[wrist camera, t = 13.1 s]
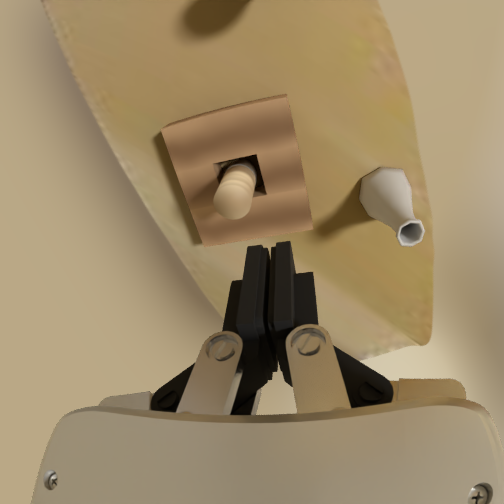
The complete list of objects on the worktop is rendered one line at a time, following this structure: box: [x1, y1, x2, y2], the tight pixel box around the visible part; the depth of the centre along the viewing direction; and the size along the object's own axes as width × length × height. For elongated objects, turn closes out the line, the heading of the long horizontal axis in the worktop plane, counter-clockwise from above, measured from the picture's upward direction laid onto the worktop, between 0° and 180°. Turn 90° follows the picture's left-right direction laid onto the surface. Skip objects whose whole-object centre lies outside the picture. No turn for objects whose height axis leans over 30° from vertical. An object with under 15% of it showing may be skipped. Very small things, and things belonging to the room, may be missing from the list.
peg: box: [213, 159, 257, 219], centre depth 33 cm, size 4×4×9 cm
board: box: [161, 94, 313, 247], centre depth 35 cm, size 16×14×3 cm
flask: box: [359, 167, 425, 247], centre depth 32 cm, size 7×7×10 cm
